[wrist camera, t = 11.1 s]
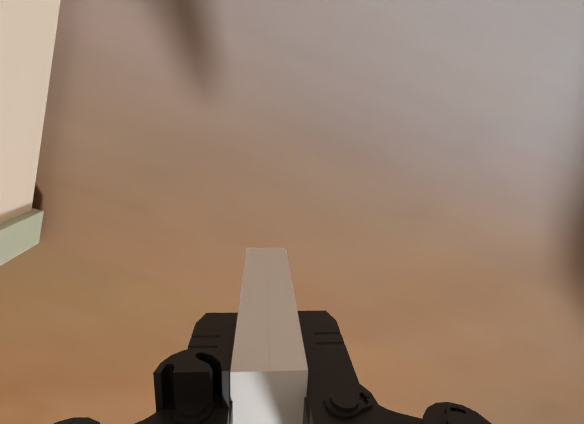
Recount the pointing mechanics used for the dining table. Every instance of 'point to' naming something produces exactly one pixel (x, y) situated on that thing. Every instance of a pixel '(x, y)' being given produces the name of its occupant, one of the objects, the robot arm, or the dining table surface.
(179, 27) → the dining table surface
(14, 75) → the gate
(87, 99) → the dining table surface
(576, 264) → the dining table surface
